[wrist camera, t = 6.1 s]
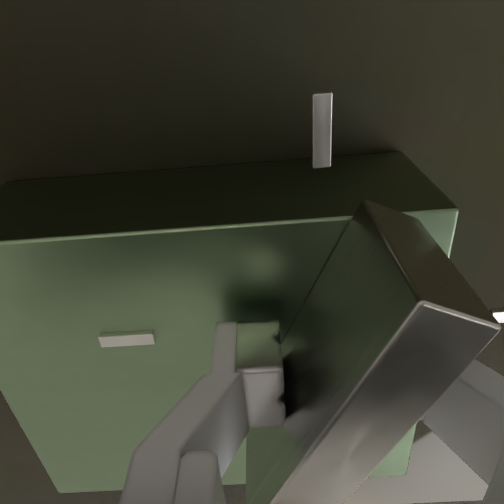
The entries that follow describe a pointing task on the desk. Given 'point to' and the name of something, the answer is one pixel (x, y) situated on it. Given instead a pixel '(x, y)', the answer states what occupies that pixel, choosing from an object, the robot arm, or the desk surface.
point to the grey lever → (365, 359)
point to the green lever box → (170, 287)
